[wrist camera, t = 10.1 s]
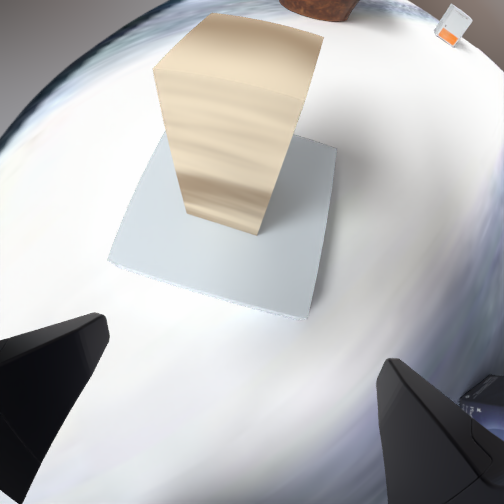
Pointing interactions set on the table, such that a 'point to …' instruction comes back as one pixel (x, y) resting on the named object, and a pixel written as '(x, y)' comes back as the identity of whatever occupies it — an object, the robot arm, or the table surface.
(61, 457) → the table surface
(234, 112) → the birch block
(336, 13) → the brown flower pot
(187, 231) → the grey-blue block
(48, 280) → the table surface
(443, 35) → the skincare box
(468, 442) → the robot arm
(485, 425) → the small box
